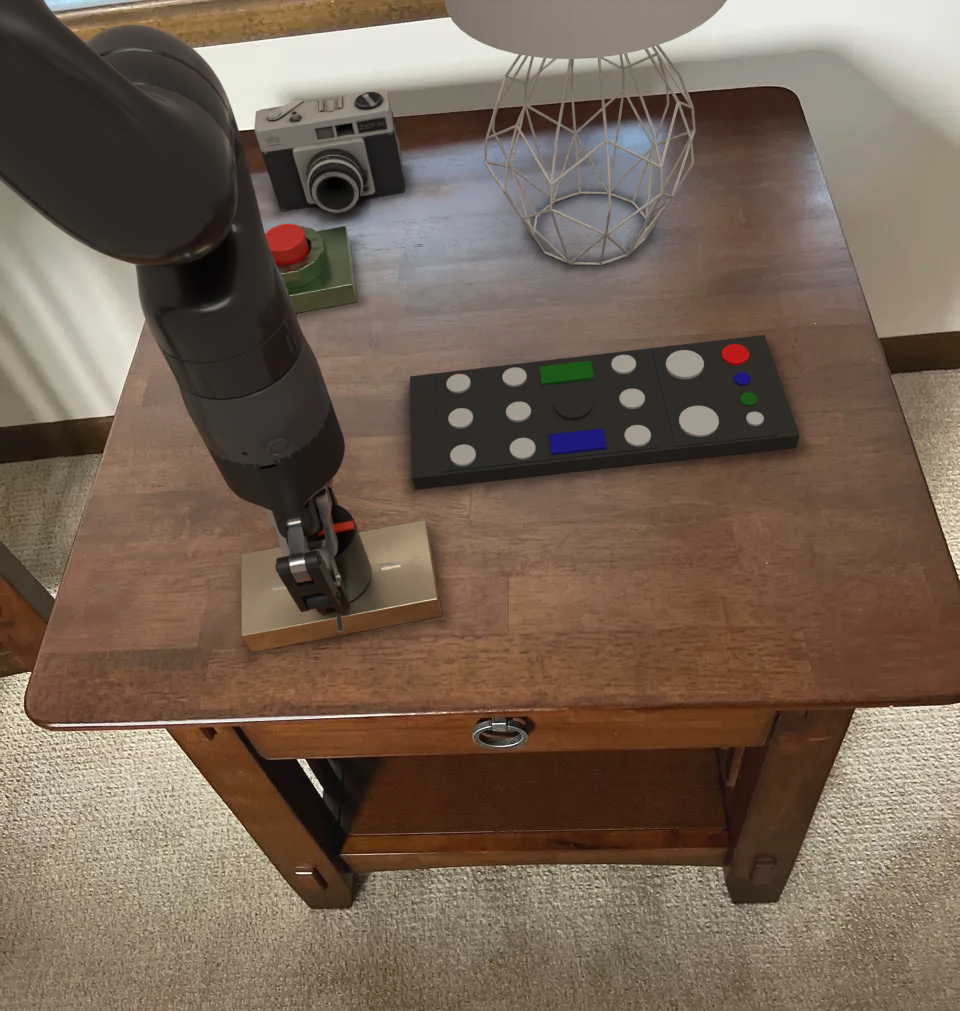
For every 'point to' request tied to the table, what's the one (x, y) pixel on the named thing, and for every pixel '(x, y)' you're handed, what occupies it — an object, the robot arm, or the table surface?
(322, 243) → the box
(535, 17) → the table lamp
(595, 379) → the remote control
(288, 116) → the camera
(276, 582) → the panel
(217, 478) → the table surface
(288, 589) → the robot arm
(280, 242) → the button
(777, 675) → the table surface
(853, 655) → the table surface
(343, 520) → the hob knob
